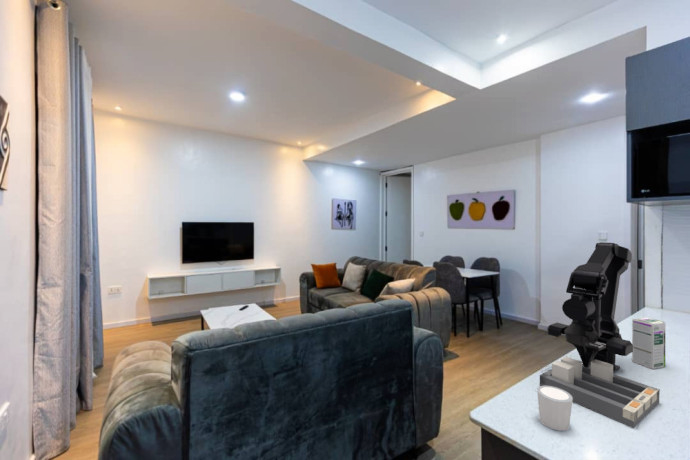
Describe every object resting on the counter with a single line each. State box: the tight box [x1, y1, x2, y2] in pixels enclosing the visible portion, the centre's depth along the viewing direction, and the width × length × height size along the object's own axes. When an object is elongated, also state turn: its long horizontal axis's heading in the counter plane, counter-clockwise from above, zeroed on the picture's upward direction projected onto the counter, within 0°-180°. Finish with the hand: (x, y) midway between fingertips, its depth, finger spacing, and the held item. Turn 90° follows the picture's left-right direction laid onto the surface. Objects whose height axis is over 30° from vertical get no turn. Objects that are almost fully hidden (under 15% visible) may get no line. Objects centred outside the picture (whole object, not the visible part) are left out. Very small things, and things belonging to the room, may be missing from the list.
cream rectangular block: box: [551, 360, 574, 385], centre depth 85 cm, size 3×4×5 cm
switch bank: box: [539, 363, 661, 429], centre depth 83 cm, size 18×20×4 cm
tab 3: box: [590, 359, 614, 383], centre depth 86 cm, size 3×4×5 cm
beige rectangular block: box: [560, 356, 583, 379], centre depth 88 cm, size 3×4×5 cm
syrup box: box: [631, 316, 666, 370], centre depth 100 cm, size 6×6×14 cm
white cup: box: [536, 385, 573, 432], centre depth 71 cm, size 7×7×7 cm
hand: (586, 367), depth 89 cm, fingers closed
